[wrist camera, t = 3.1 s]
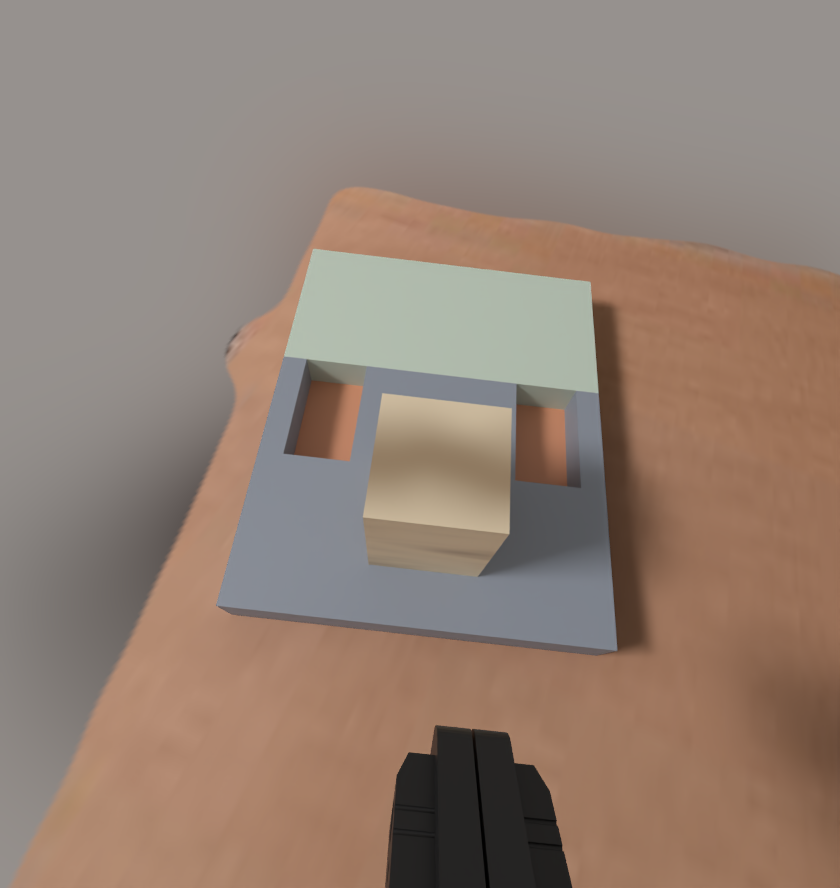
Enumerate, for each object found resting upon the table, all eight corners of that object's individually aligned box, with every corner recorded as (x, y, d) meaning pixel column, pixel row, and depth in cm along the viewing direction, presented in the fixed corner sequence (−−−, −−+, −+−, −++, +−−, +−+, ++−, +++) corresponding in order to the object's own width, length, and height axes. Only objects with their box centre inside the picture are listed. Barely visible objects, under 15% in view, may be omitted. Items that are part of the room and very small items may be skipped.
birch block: (382, 465, 30) (382, 393, 23) (482, 476, 31) (511, 408, 23) (368, 564, 28) (362, 517, 21) (477, 577, 28) (509, 534, 21)
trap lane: (318, 278, 41) (313, 248, 38) (577, 309, 41) (590, 282, 38) (231, 614, 29) (216, 605, 26) (596, 655, 29) (617, 650, 26)
